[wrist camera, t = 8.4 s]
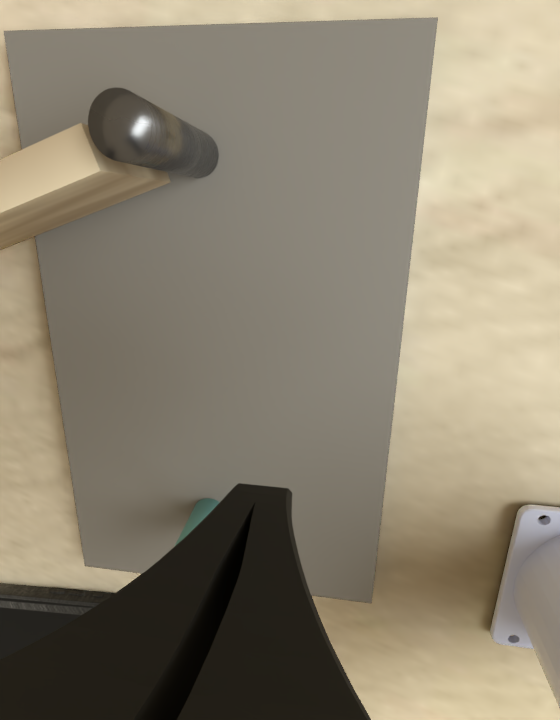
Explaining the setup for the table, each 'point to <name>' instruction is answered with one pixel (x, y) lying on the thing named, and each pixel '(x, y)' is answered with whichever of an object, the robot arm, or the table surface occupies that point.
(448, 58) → the table surface
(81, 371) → the gate board
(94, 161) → the gate
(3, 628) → the phone
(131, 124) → the hinge post
